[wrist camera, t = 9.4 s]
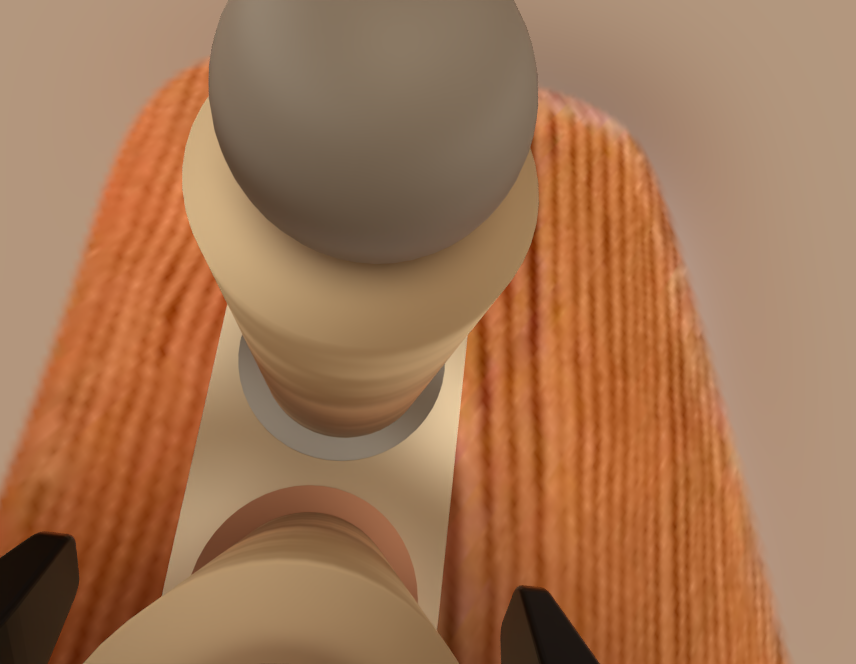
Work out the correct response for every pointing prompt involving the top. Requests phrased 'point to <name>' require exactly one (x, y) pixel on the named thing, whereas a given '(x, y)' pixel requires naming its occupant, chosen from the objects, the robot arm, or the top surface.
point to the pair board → (320, 472)
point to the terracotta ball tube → (284, 605)
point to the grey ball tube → (363, 190)
